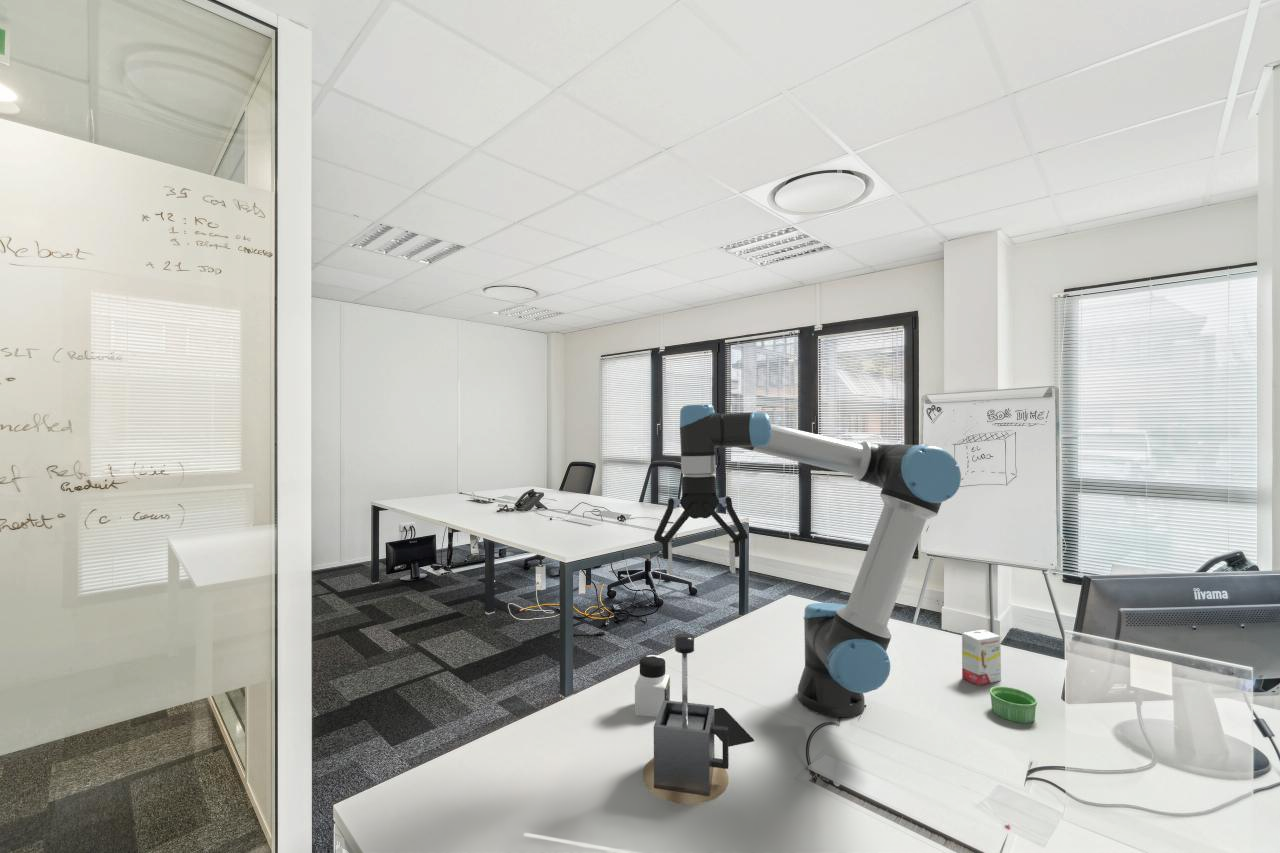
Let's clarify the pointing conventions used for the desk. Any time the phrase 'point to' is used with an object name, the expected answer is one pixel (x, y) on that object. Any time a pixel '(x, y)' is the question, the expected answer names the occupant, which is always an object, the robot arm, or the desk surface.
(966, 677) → the ink box
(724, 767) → the press body
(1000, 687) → the ramekin
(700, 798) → the coaster
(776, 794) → the desk surface
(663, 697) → the medicine bottle
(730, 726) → the smartphone
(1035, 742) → the desk surface
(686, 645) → the plunger
